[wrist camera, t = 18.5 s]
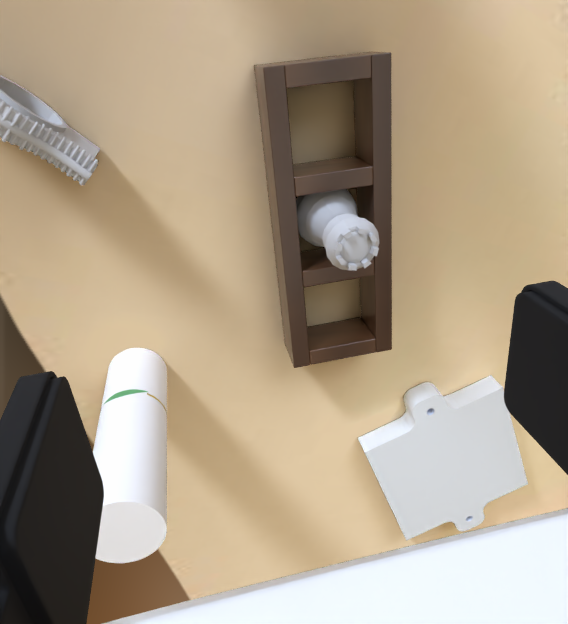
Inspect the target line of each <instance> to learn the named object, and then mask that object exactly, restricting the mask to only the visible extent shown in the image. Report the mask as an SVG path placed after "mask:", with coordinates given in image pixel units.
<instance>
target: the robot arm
mask: <svg viewBox="0 0 568 624" xmlns="http://www.w3.org/2000/svg"><path fill="white" fill-rule="evenodd" d="M504 402H505V405H506V407H507V409H508V411H509V412H510V413H511V414H512V416H513V417H514V418H515V419H516V420H517V421H518V422H519V423H520V424H521V425H522V426H523V427H524V428H525V430H526V431H527V432H528V433H529V434H530V435H531V436H532V437H533V438H534V439H535V440H536V441H537V442H538V443H539V445H540V446H541V447H542V448H543V449H544V450H545V451H546V452H547V453H548V454H549V455H550V456H551V457H552V458H553V460H554V461H555V462H556V463H557V464H558V465H559V466H560V467H561V468H562V469H563V470H564V471H565V472H566V474H567V475H568V288H566V287H565V286H563V285H561V284H560V283H558V282H555V281H548V282H542V283H537V284H531V285H527V286H525V287H524V288H523V290H522V292H521V293H519V294H518V295H517V297H516V299H515V305H514V313H513V322H512V330H511V338H510V347H509V355H508V364H507V372H506V380H505V389H504ZM103 500H104V488H103V482H102V478H101V475H100V472H99V469H98V467H97V464H96V461H95V458H94V455H93V452H92V449H91V446H90V443H89V440H88V438H87V435H86V432H85V429H84V426H83V423H82V420H81V417H80V414H79V411H78V409H77V406H76V403H75V400H74V397H73V394H72V391H71V388H70V385H69V383H68V380H67V379H66V377H59V378H57V376H56V375H55V373H54V372H52V371H50V372H45V373H39V374H33V375H28V376H23V377H20V378H19V380H18V382H17V384H16V386H15V388H14V391H13V393H12V395H11V397H10V400H9V402H8V404H7V406H6V409H5V411H4V413H3V415H2V418H1V420H0V624H86V622H87V614H88V607H89V601H90V593H91V586H92V579H93V572H94V564H95V558H96V550H97V543H98V536H99V529H100V522H101V515H102V508H103ZM103 624H568V508H566V509H562V510H558V511H553V512H549V513H545V514H541V515H536V516H532V517H528V518H524V519H519V520H515V521H511V522H507V523H503V524H499V525H495V526H490V527H486V528H482V529H478V530H474V531H470V532H465V533H461V534H457V535H453V536H449V537H445V538H441V539H436V540H432V541H428V542H424V543H420V544H416V545H412V546H408V547H403V548H399V549H395V550H391V551H387V552H383V553H379V554H375V555H370V556H366V557H362V558H358V559H354V560H350V561H346V562H342V563H338V564H334V565H330V566H326V567H322V568H318V569H314V570H310V571H306V572H301V573H297V574H293V575H289V576H285V577H281V578H277V579H273V580H269V581H265V582H261V583H257V584H253V585H249V586H245V587H241V588H237V589H233V590H229V591H225V592H221V593H217V594H213V595H209V596H205V597H201V598H197V599H193V600H189V601H186V602H182V603H178V604H174V605H171V606H167V607H163V608H159V609H155V610H152V611H148V612H144V613H140V614H136V615H133V616H129V617H125V618H121V619H118V620H114V621H111V622H106V623H103Z"/></svg>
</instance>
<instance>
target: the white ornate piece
mask: <svg viewBox="0 0 568 624" xmlns="http://www.w3.org/2000/svg"><path fill="white" fill-rule="evenodd" d="M0 137H1V138H2V141H3V142H6V141H8V142H10V144H11V145H13V144H15V145H18V146H20V147H19V149H20V150H23V149H24V148H25V149H26V151H27V152H30V151H32V152H33V154H34V155H35V156H37V155H39V156H40V158H41V159H43V160H44V159H46V160H47V162H48V163H49V164H50V163H53V164H54V165H55V167H56V168H58V167H59V168H60V169H61V171H62V172H64V171H65V172H66V173H67V176H72V177H73V180H74V181H76V180H77V181H79V184H80V185H85V183H86V182H87V181H88V179H89V178H90V176H91V174H92V173H93V172H94V170H95V169H96V167H97V166H98V164H97V163H98V160H97V159H95V161H93V160H94V158H95V156H96V155H97V153H98V152H99V150H100V148H99V147H97V146H96V145H95V144H93V143H92V142H90V141H89V140H88V139H86V138H85V137H83V136H82V135H81V134H79V133H78V132H76V131H75V130H74V129H72V128H71V127H69V126H68V125H67V124H66V123H65V121H64V120H63V119H62V118H61V116H60V115H59V114H58V113H57V112H55V111H54V110H53V109H52V108H51V107H50V106H48V105H47V104H46V103H45V102H43V101H42V100H41V99H39V98H38V97H37V96H35V95H34V94H32V93H31V92H29V91H28V90H26V89H25V88H23V87H21V86H20V85H18V84H16V83H15V82H13V81H11V80H9V79H7V78H5V77H3V76H1V75H0Z"/></svg>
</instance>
